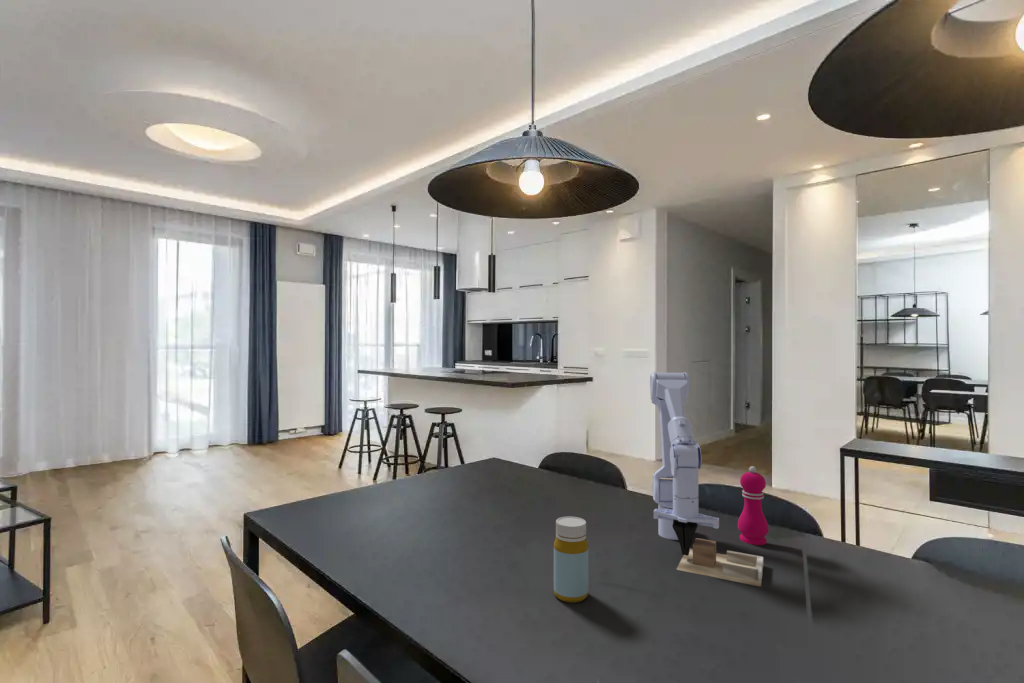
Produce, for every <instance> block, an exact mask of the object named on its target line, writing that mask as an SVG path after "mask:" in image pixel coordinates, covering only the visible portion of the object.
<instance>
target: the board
mask: <svg viewBox="0 0 1024 683" xmlns="http://www.w3.org/2000/svg"><path fill="white" fill-rule="evenodd" d="M764 564H765V563H764V556H761V555H756V554H751V553H750V554H749V553H744V552H739V551H733V550H726V554H723V553H717V552H716V563H715V566H714V568H711V567H706V566H700V565H695V564H693V548H691V547H690V552H689V555H688V556H687V555H682V558H681V559H680V561H679V563H678V566H677V567H676V570H677V571H681V572H687V573H692V574H696V575H702V576H705V577H711V578H717V579H719V580H720V579H721V580H725V581H730V582H735V583H740V584H745V585H751V586H756V587H760V588H761V587H762V583H763V582H762V581H763V580H762V579H763V571H764Z"/></svg>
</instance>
